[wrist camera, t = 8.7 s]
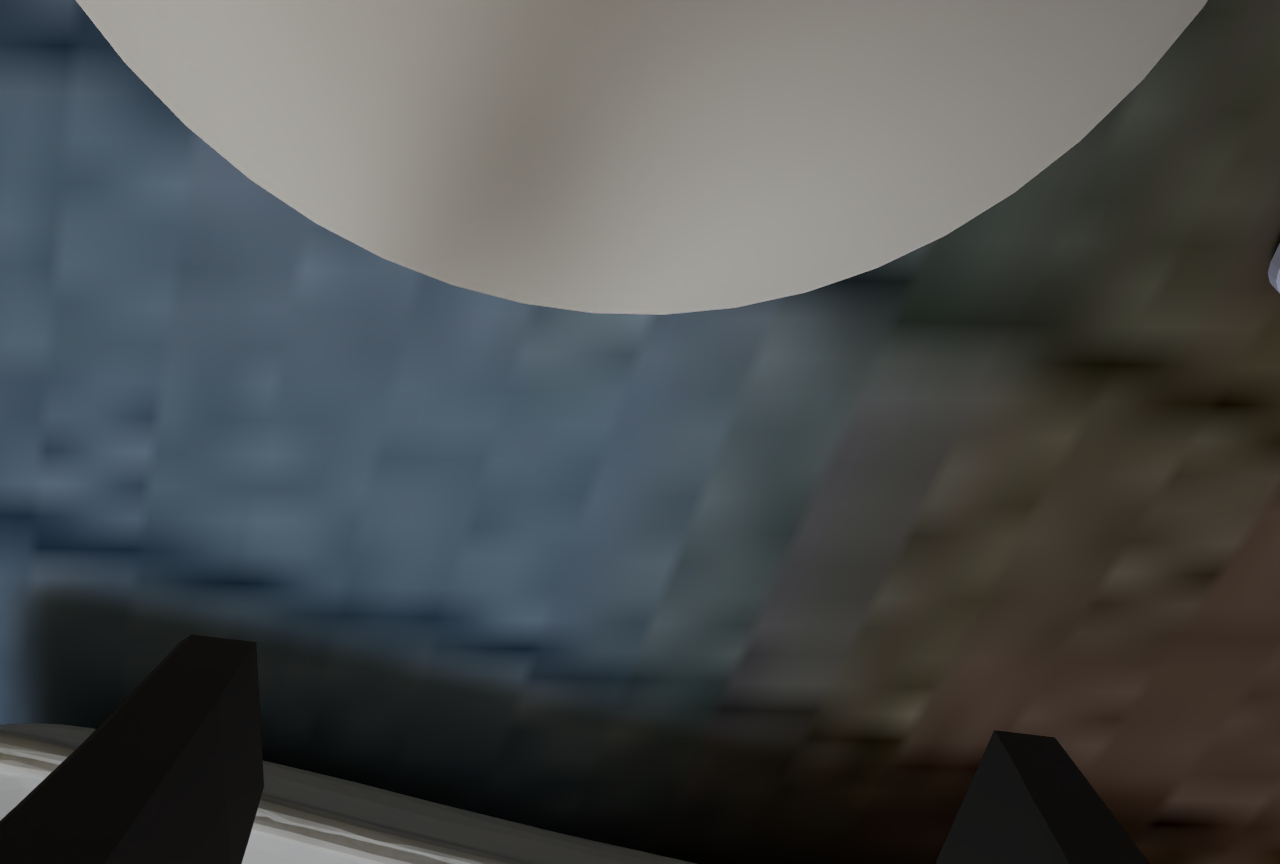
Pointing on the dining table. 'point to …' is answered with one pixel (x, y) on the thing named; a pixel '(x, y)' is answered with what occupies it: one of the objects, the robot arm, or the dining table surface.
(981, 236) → the dining table surface
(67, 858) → the robot arm
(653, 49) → the lid
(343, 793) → the square plate
